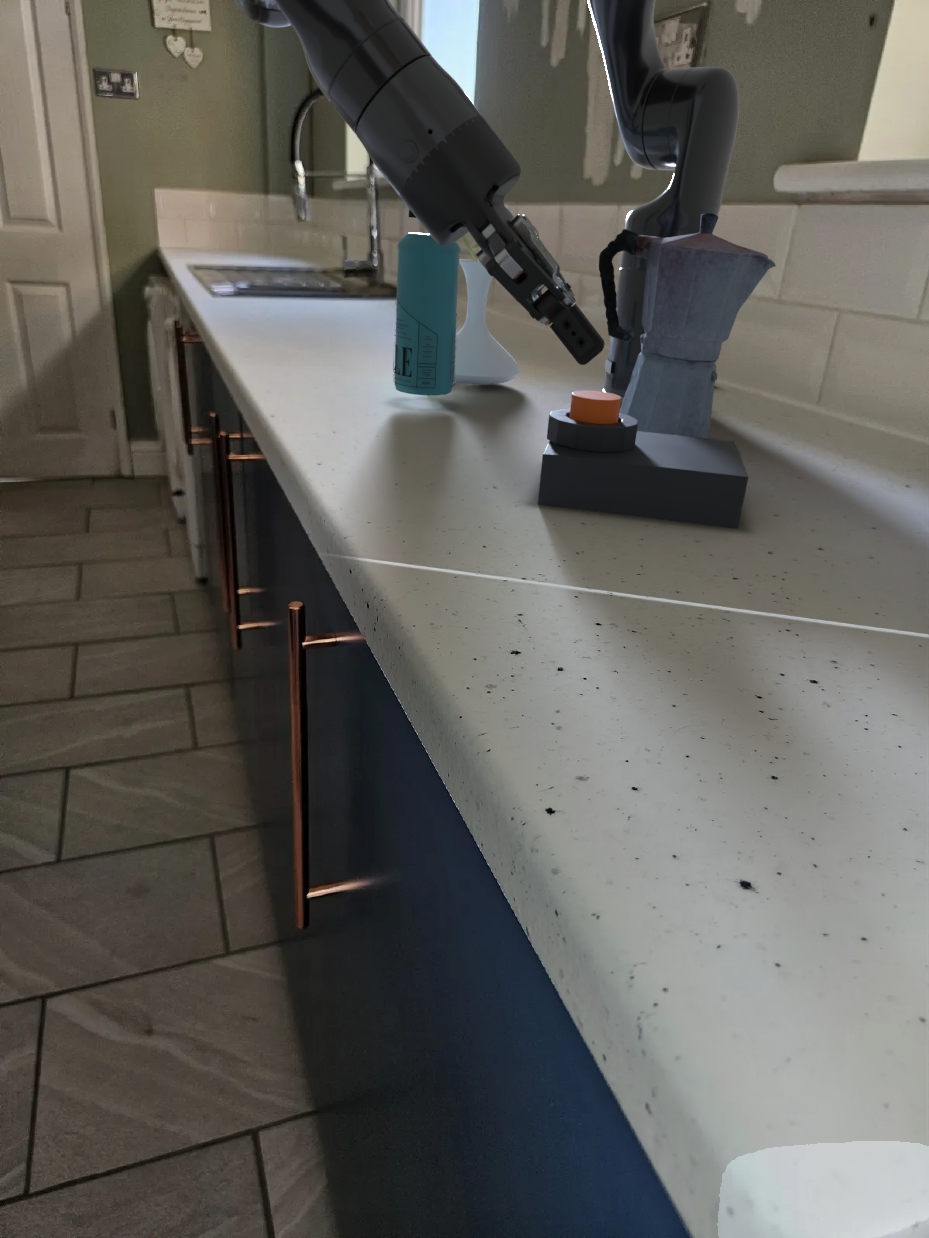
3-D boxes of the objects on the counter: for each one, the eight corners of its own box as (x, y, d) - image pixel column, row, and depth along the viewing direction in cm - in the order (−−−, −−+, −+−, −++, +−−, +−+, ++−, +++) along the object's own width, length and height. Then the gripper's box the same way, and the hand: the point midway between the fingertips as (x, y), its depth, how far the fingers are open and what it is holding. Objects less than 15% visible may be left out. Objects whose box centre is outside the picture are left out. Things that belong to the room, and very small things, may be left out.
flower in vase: (529, 381, 109) (550, 157, 99) (501, 395, 100) (520, 148, 89) (434, 369, 113) (444, 152, 103) (397, 381, 103) (404, 143, 93)
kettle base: (533, 504, 62) (541, 427, 60) (550, 466, 72) (557, 399, 70) (737, 529, 60) (754, 450, 58) (726, 486, 70) (739, 418, 68)
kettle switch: (566, 425, 63) (570, 397, 62) (571, 415, 66) (574, 388, 66) (616, 430, 63) (620, 402, 62) (618, 420, 66) (622, 393, 65)
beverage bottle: (464, 405, 93) (478, 198, 85) (429, 413, 88) (440, 194, 80) (415, 395, 96) (423, 195, 88) (378, 403, 91) (383, 191, 83)
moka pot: (742, 459, 79) (792, 217, 70) (573, 440, 81) (601, 204, 73) (734, 437, 87) (777, 218, 79) (581, 420, 90) (607, 206, 81)
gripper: (458, 98, 52) (635, 330, 55) (495, 122, 64) (638, 313, 67) (371, 190, 55) (543, 406, 58) (422, 198, 67) (562, 376, 70)
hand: (594, 356), depth 63 cm, fingers closed
